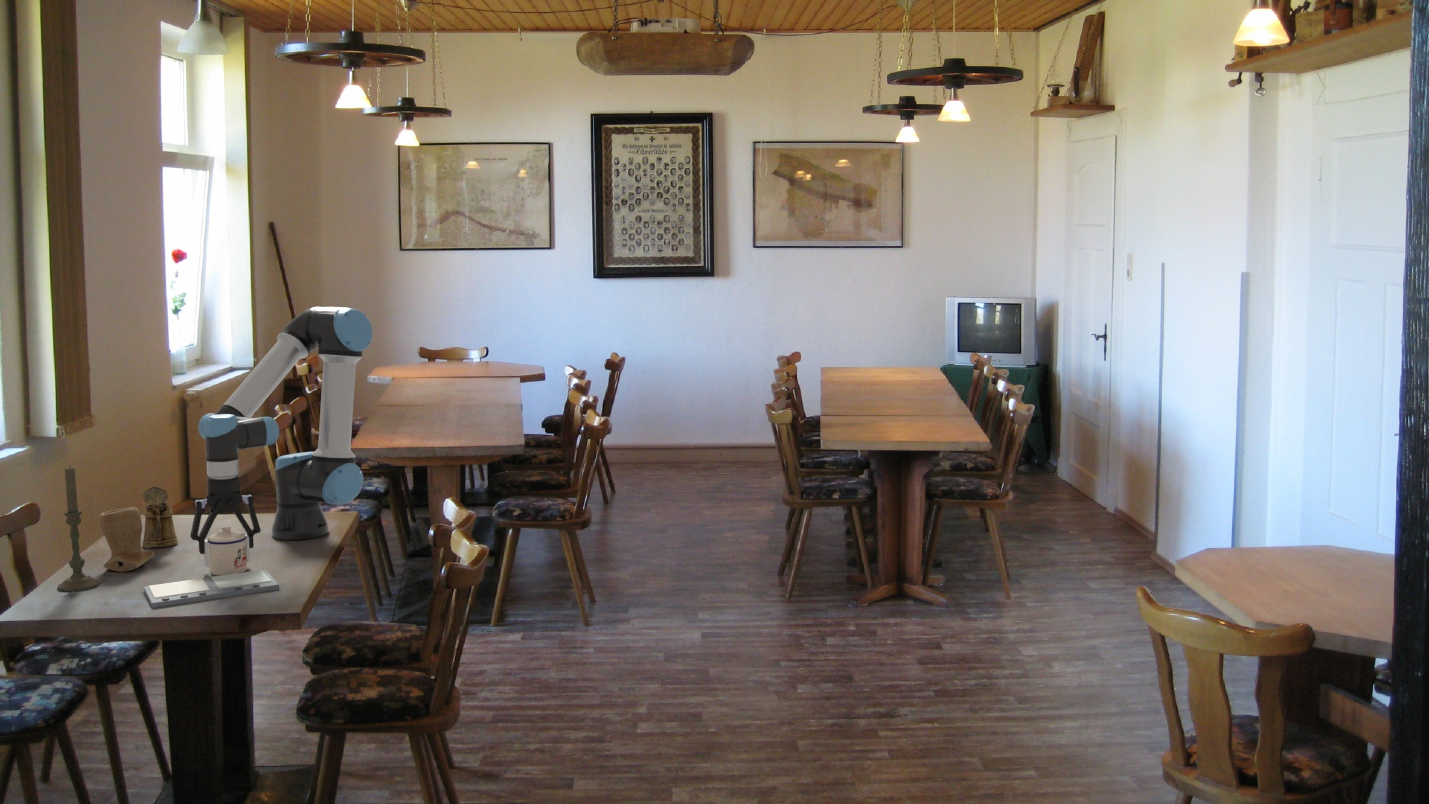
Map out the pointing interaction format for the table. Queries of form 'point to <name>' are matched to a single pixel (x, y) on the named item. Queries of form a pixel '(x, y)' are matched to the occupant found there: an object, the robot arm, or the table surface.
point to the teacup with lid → (227, 552)
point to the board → (210, 588)
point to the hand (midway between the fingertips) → (227, 563)
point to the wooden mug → (158, 520)
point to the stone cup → (124, 539)
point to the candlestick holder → (75, 539)
